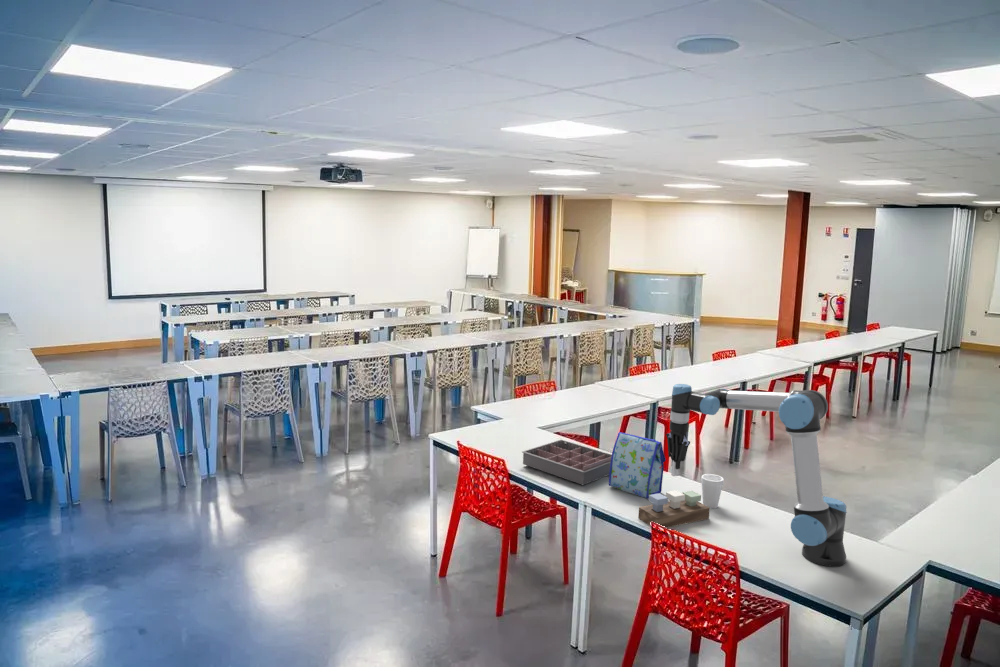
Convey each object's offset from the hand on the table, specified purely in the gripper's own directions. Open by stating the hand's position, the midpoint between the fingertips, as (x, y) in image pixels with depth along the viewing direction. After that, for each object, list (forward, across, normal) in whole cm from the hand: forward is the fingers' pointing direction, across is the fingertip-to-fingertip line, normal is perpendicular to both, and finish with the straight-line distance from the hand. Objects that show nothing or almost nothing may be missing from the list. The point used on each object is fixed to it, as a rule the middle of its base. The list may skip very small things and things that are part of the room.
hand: (674, 475), depth 286 cm
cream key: (+14, -1, -1) cm, 14 cm away
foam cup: (+19, +5, -26) cm, 32 cm away
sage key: (+15, 0, -10) cm, 18 cm away
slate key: (+14, -1, +8) cm, 16 cm away
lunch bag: (+20, +32, -5) cm, 38 cm away
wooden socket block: (+19, -1, -1) cm, 19 cm away
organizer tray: (+20, +67, +10) cm, 71 cm away
